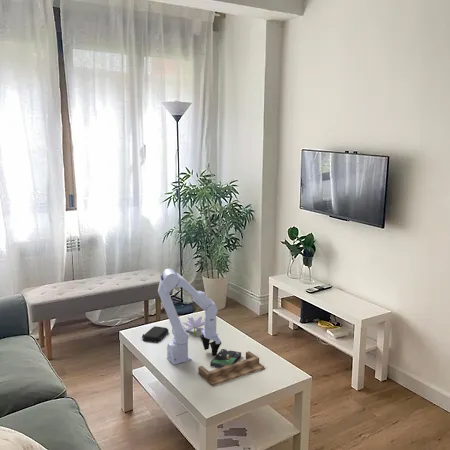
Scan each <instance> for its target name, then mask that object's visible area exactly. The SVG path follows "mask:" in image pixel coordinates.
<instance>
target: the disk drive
mask: <svg viewBox="0 0 450 450" xmlns="http://www.w3.org/2000/svg"><path fill="white" fill-rule="evenodd" d="M241 358H242V352H241V351H235V350H230V349H229V350H227V349H225V348H221V349H220V350H219V351H218V352H217V355H216V356H213V358H212V359H211V360H210V362H209V363H210V364H209V365H210V367H212V368H216V369H218V368H221V367H224V366H228V365H231V364H234V363H237V362H239V360H240V359H241Z"/></svg>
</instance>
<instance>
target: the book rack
mask: <svg viewBox="0 0 450 450" xmlns="http://www.w3.org/2000/svg"><path fill="white" fill-rule="evenodd" d="M260 370H265V365H263V364H262V363H260V357H258V355H255V354H254V353H253V352H251V351H250V350H249V351H246V352H245V359H243V360H240V361H237V363H234V364H231V365H228V366H224V367H221V368H215V369H212V370H208V369H207V368H206V367H204V366H203V365H200V366H198V367H197V372H198V373H197V374H198V375H199V376H200V377H201V378H202V379H204V380H205V381H206V382H207V383H208V384H209V385H210V386H211V387H214V386H216V385H219V384H223V383H227V382H229V381H232V380H234V379H235V380H236V379H238V378H241V377H243V376H244V377H245V376H247V375H249V374H252V373H255V372H258V371H260Z"/></svg>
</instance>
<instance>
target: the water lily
mask: <svg viewBox="0 0 450 450" xmlns="http://www.w3.org/2000/svg"><path fill="white" fill-rule="evenodd" d="M181 324H182V325H183V326H184V325H185V326H187V328H186V327H185V330H186V332H188V331H191V330H193V336H194V337H196V330H197V331H201V330H202V329H204V328H203V326H205V321H204V320H203V316H199V317H198V318H195V319H194V317H193V316H190V317H187V320H186V322H181Z"/></svg>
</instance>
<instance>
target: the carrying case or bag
mask: <svg viewBox="0 0 450 450" xmlns="http://www.w3.org/2000/svg"><path fill="white" fill-rule="evenodd" d="M168 333H169V328H167V327H164V326H156V325H155V326H153V327H151V328H150V329H149V330H148V331H147V332H145V333H142V336H141V338H142V340H144V341H145V340H146V342H151V341H152V343H153V342H154V343H158V342H159V341H161V340H162V339H163V338H164V337H165V336H166V335H167V334H168Z"/></svg>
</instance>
